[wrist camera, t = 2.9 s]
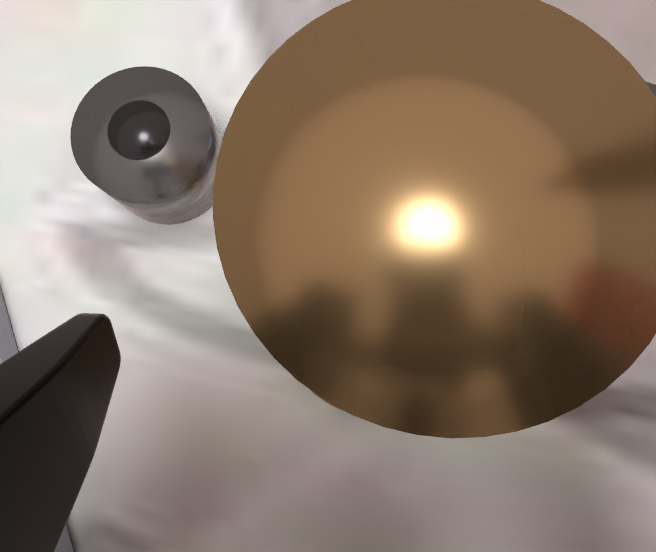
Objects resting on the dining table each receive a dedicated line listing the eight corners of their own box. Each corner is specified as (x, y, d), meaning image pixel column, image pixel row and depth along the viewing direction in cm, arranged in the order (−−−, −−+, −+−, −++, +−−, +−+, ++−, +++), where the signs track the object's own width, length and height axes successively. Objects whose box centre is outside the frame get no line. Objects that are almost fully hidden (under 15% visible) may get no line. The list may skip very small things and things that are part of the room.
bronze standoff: (487, 374, 17) (926, 388, 4) (320, 439, 17) (246, 663, 4) (419, 214, 18) (604, -174, 5) (260, 274, 18) (43, 26, 5)
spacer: (246, 199, 18) (226, 167, 15) (133, 242, 18) (92, 217, 15) (208, 97, 19) (182, 46, 16) (99, 137, 19) (52, 93, 16)
